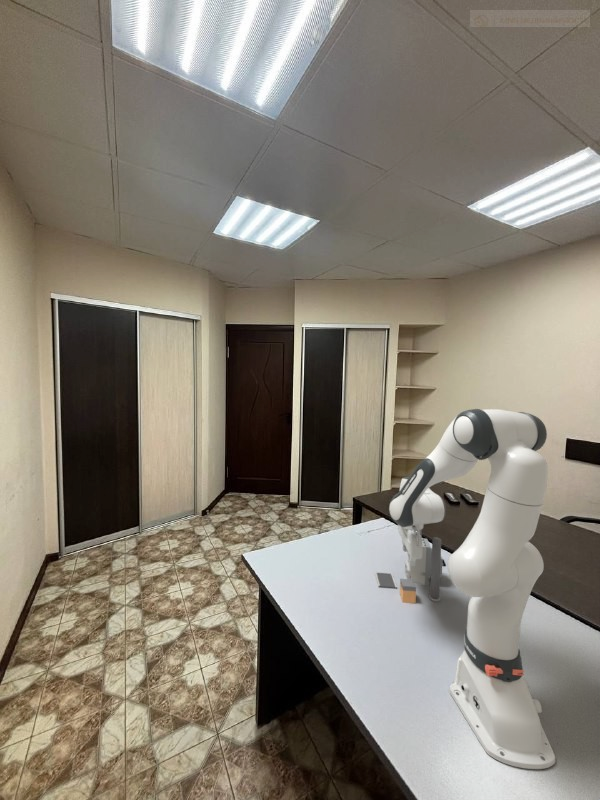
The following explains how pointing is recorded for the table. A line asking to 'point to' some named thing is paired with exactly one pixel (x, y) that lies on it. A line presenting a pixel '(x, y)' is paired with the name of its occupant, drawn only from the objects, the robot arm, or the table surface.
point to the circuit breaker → (422, 566)
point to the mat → (385, 580)
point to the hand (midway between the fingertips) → (408, 557)
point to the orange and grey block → (407, 591)
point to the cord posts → (435, 569)
